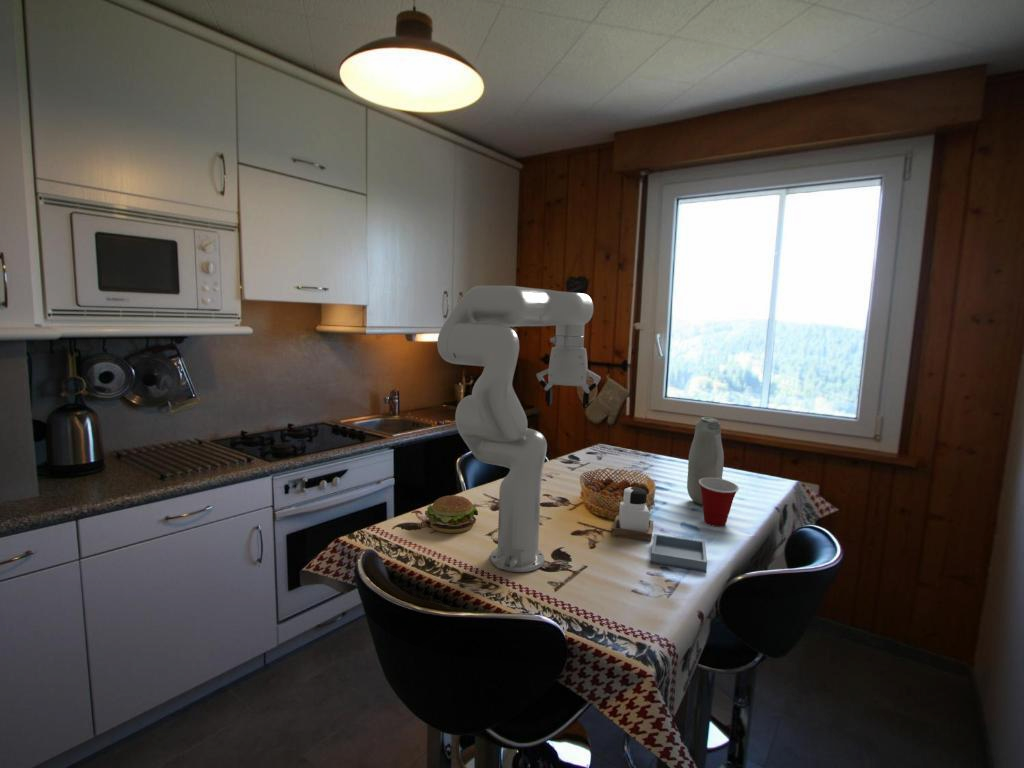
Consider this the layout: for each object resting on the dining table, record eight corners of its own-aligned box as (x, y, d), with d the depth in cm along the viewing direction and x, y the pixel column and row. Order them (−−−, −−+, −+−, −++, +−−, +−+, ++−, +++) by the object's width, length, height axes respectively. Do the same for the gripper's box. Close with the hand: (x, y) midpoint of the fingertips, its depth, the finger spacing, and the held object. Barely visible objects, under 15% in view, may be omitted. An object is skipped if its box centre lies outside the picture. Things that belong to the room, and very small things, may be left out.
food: (414, 525, 143) (415, 496, 142) (455, 513, 153) (455, 486, 152) (446, 541, 133) (446, 511, 132) (487, 527, 143) (488, 499, 142)
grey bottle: (726, 507, 166) (733, 419, 163) (700, 510, 163) (707, 421, 159) (704, 497, 176) (710, 414, 172) (679, 499, 172) (685, 415, 169)
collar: (650, 541, 137) (651, 534, 137) (611, 535, 140) (611, 528, 140) (653, 527, 147) (653, 520, 147) (616, 522, 150) (616, 515, 150)
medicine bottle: (644, 527, 147) (646, 485, 145) (648, 537, 140) (651, 494, 138) (618, 525, 148) (620, 484, 146) (620, 535, 140) (623, 492, 139)
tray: (706, 572, 121) (707, 562, 121) (650, 563, 125) (651, 553, 124) (704, 550, 133) (705, 541, 132) (653, 543, 136) (654, 533, 136)
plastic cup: (711, 531, 145) (714, 489, 144) (687, 517, 156) (691, 478, 154) (744, 528, 148) (747, 487, 147) (719, 515, 159) (722, 476, 157)
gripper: (534, 341, 139) (532, 405, 141) (600, 344, 134) (597, 410, 136) (540, 340, 146) (538, 401, 148) (603, 343, 141) (600, 406, 144)
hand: (566, 405), depth 142 cm, fingers open, 9 cm apart
